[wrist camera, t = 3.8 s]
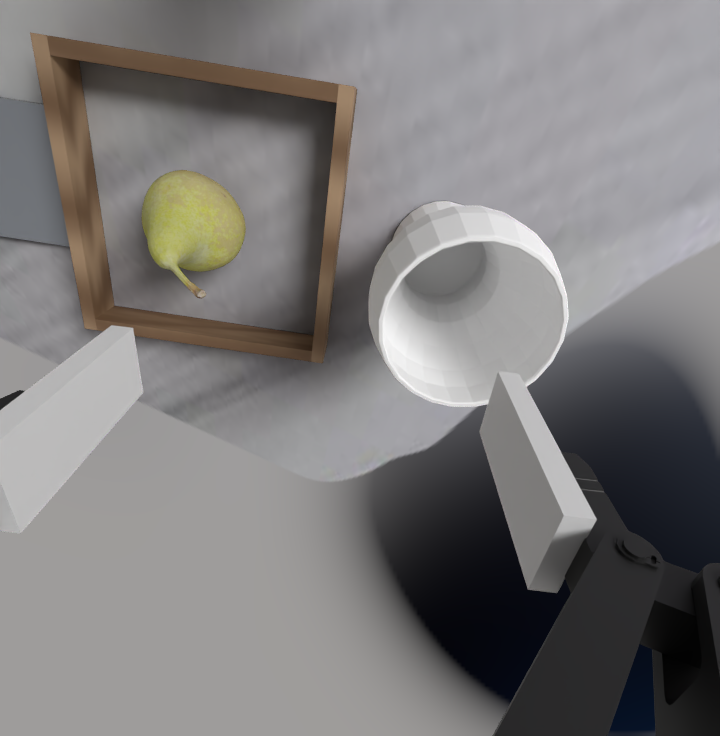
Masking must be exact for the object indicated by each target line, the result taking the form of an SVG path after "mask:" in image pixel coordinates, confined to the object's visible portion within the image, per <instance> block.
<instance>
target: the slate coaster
mask: <svg viewBox="0 0 720 736" xmlns="http://www.w3.org/2000/svg"><path fill="white" fill-rule="evenodd" d="M0 236H3V237H10V238H16V239H23V240H29V241H36V242H42V243H49V244H55V245H62V246H69V247H70V245H69V240H68V235H67V229H66V224H65V218H64V213H63V208H62V202H61V197H60V191H59V186H58V181H57V175H56V170H55V164H54V159H53V154H52V148H51V143H50V137H49V132H48V127H47V121H46V116H45V110H44V105H43V104H40V103H33V102H27V101H21V100H15V99H9V98H3V97H0Z"/></svg>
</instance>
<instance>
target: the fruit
mask: <svg viewBox="0 0 720 736" xmlns="http://www.w3.org/2000/svg"><path fill="white" fill-rule="evenodd" d="M142 225H143V230H144V233H145V236H146V238H147V242H148V248H149V252H150V254H151V256H152V258H153V259H154V261H155V262H156V263H157V264H158V265H159V266H160V267H162V268H164V269H169V270H171V271H172V272H173V273H174V274H175V275H176V276H177V277H178V278H179V279H180V280H181V281H182V282H183V283H184V284H185V285H186V286H187V287H188V289H189V290H190V291H191V292H192V293H193V294H194V295H195V296H196V297H197V298H201V299H202V298H203V297H205V296H206V293H205V291H204V290H202V289H199V288H198V287H197V286H195V284H193V283H192V282H190V281H189V280H188V278H187V277H186V276H185V275H184V274H183V273H182V271H181V270H180V268H179V267H181V268H183V269H187V270H191V271H199V272H202V271H210V270H214V269H217V268H219V267H222V266H224V265H226V264H228V263H229V262H230V261H232V260H233V259H234V258H235V257H236V255H237V254H238V253H239V251H240V249H241V246H242V244H243V241H244V237H245V230H246V228H245V221H244V217H243V214H242V212H241V210H240V208H239V206H238V205H237V203H236V201H235V200H234V198H233V197H232V196H231V195H230V193H229V192H228V191H227V190H226V189H224V188H223V187H222V186H221V185H219V184H218V183H217V182H215V181H213V180H212V179H210V178H208V177H206V176H204V175H201V174H199V173H196V172H192V171H187V170H178V171H172V172H169V173H167V174H165V175H163V176H161V177H159V178H158V179H157V180H156V181H155V182H154V183H153V184H152V185H151V186H150V188H149V190H148V192H147V194H146V196H145V199H144V203H143V207H142ZM178 266H179V267H178Z"/></svg>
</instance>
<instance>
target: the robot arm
mask: <svg viewBox="0 0 720 736" xmlns="http://www.w3.org/2000/svg"><path fill="white" fill-rule="evenodd" d="M142 394H143V387H142V381H141V375H140V369H139V362H138V356H137V350H136V343H135V337H134V331H133V328H130V327H122V326H113V325H111V326H110V327H109V328H107V329H106V330H105V331H103V332H102V333H101V334H99V335H98V336H97V337H95V338H94V339H93V340H92V341H90V342H89V343H88V344H86V345H85V346H84V347H82V348H81V349H80V350H78V351H77V352H76V353H75V354H73V355H72V356H71V357H69V358H68V359H67V360H65V361H64V362H63V363H61V364H60V365H59V366H57V368H55V369H54V370H52V371H51V372H50V373H49V374H47V375H46V376H44V377H43V378H42V379H41V380H39V381H38V382H37V383H35V384H34V385H33V386H32V387H30V388H29V389H28V390H26V391H21V390H19V391H17V392H15V393H12V394H10V395H8V396H5V397H3V398H1V399H0V531H5V532H15V533H21V532H22V531H23V530H24V529H25V528H26V527H27V526H28V524H29V523H30V522H31V521H32V520H33V519H34V518H35V516H36V515H37V514H38V513H39V512H40V511H41V510H42V508H43V507H44V506H45V505H46V504H47V502H48V501H49V500H50V499H51V498H52V497H53V496H54V495H55V493H56V492H57V491H58V490H59V489H60V488H61V487H62V485H63V484H64V483H65V482H66V481H67V480H68V478H69V477H70V476H71V475H72V474H73V473H74V472H75V470H76V469H77V468H78V467H79V466H80V465H81V464H82V462H83V461H84V460H85V459H86V458H87V457H88V456H89V454H90V453H91V452H92V451H93V450H94V449H95V448H96V446H97V445H98V444H99V443H100V442H101V441H102V439H103V438H104V437H105V436H106V435H107V434H108V433H109V431H110V430H111V429H112V428H113V427H114V425H116V423H117V422H118V421H119V420H120V419H121V418H122V417H123V415H124V414H125V413H126V412H127V411H128V410H129V409H130V407H131V406H132V405H133V404H134V403H135V402H136V400H137V399H138V398H139V397H140V396H141V395H142ZM480 435H481V438H482V441H483V445H484V448H485V451H486V455H487V458H488V461H489V464H490V467H491V471H492V474H493V477H494V480H495V484H496V487H497V490H498V494H499V497H500V500H501V503H502V507H503V510H504V513H505V516H506V520H507V523H508V526H509V529H510V533H511V536H512V539H513V542H514V545H515V548H516V552H517V555H518V558H519V562H520V565H521V568H522V571H523V575H524V578H525V581H526V584H527V588H528V590H536V591H545V592H554V593H557V592H558V590H559V588H560V586H561V585H562V583H563V581H564V579H566V581H567V584H568V587H569V589H570V592H571V594H570V596H569V598H568V600H567V601H566V603H565V605H564V607H563V608H562V610H561V612H560V614H559V616H558V617H557V620H556V621H555V623H554V625H553V627H552V629H551V631H550V632H549V634H548V636H547V638H546V640H545V642H544V644H543V645H542V647H541V649H540V651H539V652H538V654H537V656H536V658H535V660H534V661H533V663H532V665H531V667H530V669H529V671H528V672H527V674H526V676H525V678H524V680H523V681H522V683H521V685H520V687H519V689H518V690H517V692H516V694H515V696H514V698H513V700H512V701H511V703H510V705H509V707H508V709H507V710H506V713H505V714H504V716H503V718H502V720H501V721H500V723H499V725H498V727H497V729H496V730H495V732H494V734H493V736H607V735H608V732H609V730H610V727H611V724H612V721H613V718H614V715H615V712H616V709H617V707H618V704H619V701H620V698H621V695H622V692H623V689H624V686H625V683H626V681H627V678H628V675H629V672H630V669H631V666H632V663H633V660H634V657H635V655H636V652H637V649H638V646H639V644H641V645H644V646H646V647H649V648H651V649H652V654H653V679H654V703H655V729H656V736H720V563H710V564H708V565H707V566H705V567H704V568H703V569H702V570H701V572H700V573H699V574H697V573H695V572H692V571H689V570H686V569H684V568H681V567H678V566H675V565H672V564H670V563H667V562H665V561H663V559H662V557H661V555H660V553H659V552H658V551H657V550H656V549H655V548H654V547H653V546H652V544H650V543H649V542H647V541H646V540H645V539H643V538H642V537H640V536H638V535H636V534H634V533H632V532H629V531H628V530H627V528H626V527H625V525H624V523H623V522H622V520H621V518H620V516H619V515H618V513H617V512H616V510H615V508H614V507H613V505H612V503H611V501H610V500H609V498H608V496H607V495H606V493H604V490H603V488H602V486H601V484H600V483H599V482H597V478H596V476H595V475H594V473H593V471H592V469H591V468H590V466H589V465H588V464H587V463H586V462H584V461H583V460H582V459H581V458H580V457H579V456H578V455H577V454H574V453H565V452H561V451H560V449H559V448H558V446H557V444H556V442H555V440H554V438H553V436H552V435H551V433H550V431H549V429H548V427H547V425H546V423H545V422H544V419H543V418H542V416H541V414H540V412H539V410H538V408H537V406H536V404H535V403H534V401H533V399H532V397H531V395H530V393H529V391H528V389H527V388H526V386H525V384H524V382H523V380H522V378H521V376H520V374H518V373H509V372H501V371H498V373H497V376H496V380H495V383H494V386H493V389H492V393H491V396H490V399H489V402H488V406H487V409H486V412H485V416H484V419H483V422H482V425H481V429H480Z"/></svg>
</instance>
